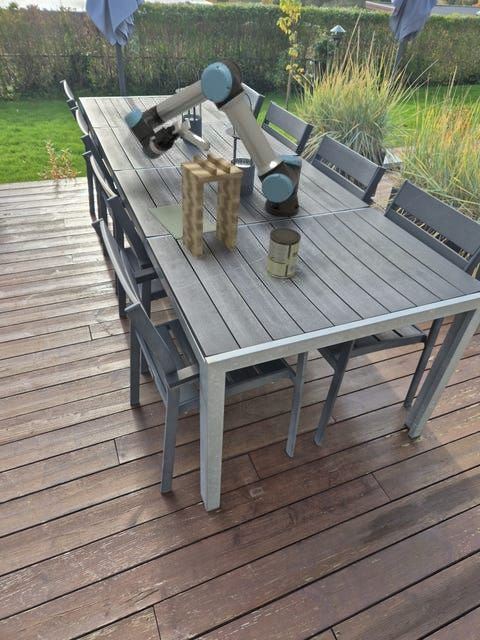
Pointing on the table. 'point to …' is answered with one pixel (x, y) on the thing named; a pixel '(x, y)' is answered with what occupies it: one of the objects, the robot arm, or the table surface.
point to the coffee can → (282, 252)
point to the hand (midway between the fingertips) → (184, 124)
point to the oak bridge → (226, 201)
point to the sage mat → (176, 220)
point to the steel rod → (194, 138)
